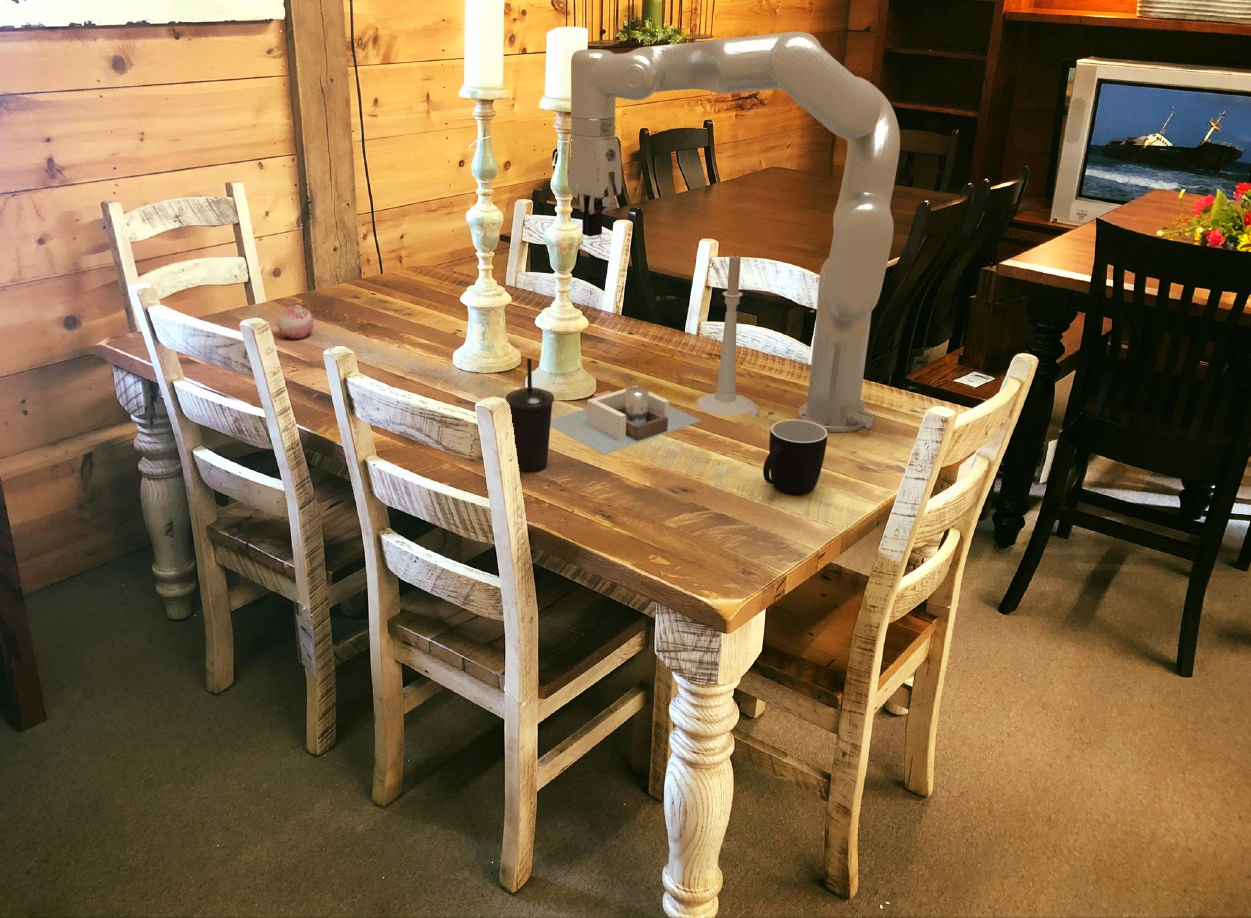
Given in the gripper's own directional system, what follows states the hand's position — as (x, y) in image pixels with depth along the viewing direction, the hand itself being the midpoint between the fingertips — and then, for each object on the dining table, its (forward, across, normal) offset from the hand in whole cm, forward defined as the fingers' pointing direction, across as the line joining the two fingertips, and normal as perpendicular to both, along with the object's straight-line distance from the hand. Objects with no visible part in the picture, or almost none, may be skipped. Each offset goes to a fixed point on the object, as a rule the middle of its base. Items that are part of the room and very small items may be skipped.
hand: (592, 234), depth 187 cm
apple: (+32, +68, +28) cm, 80 cm away
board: (+32, -14, +4) cm, 35 cm away
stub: (+31, -17, +4) cm, 35 cm away
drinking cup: (+32, -18, +27) cm, 46 cm away
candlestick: (+32, -19, -17) cm, 41 cm away
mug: (+32, -48, -2) cm, 58 cm away
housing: (+31, -13, +4) cm, 34 cm away
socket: (+31, -17, +4) cm, 35 cm away
